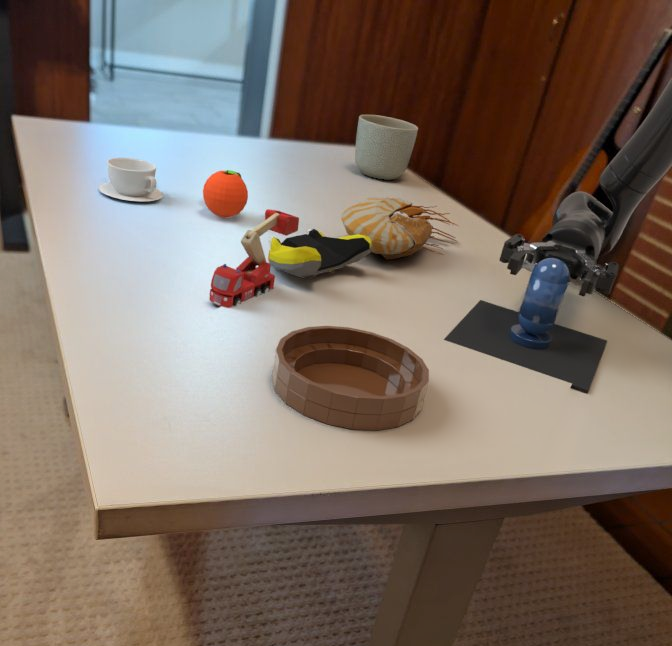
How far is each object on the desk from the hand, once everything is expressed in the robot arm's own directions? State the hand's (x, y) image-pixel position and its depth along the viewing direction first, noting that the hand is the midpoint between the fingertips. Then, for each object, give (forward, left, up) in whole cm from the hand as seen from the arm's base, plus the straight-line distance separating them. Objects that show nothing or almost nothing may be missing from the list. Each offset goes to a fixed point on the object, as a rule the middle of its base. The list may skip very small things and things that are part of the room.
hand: (549, 277), depth 90 cm
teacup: (+67, -9, -10) cm, 68 cm away
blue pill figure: (0, -2, -9) cm, 9 cm away
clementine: (+52, -13, -10) cm, 54 cm away
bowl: (+13, +27, -9) cm, 31 cm away
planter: (+47, -67, -10) cm, 82 cm away
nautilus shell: (+25, -21, -10) cm, 34 cm away
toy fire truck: (+33, +12, -10) cm, 36 cm away
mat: (0, -2, -9) cm, 10 cm away
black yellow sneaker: (+31, -2, -10) cm, 33 cm away
